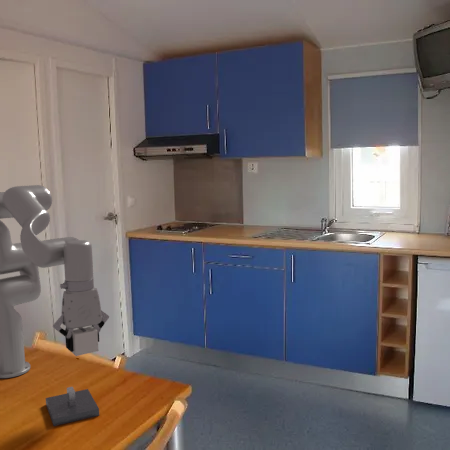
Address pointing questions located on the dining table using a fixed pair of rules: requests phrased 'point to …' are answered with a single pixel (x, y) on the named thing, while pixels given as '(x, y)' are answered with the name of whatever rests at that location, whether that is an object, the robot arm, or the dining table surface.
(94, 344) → the knob
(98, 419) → the dining table surface
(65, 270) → the robot arm
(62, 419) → the plate
